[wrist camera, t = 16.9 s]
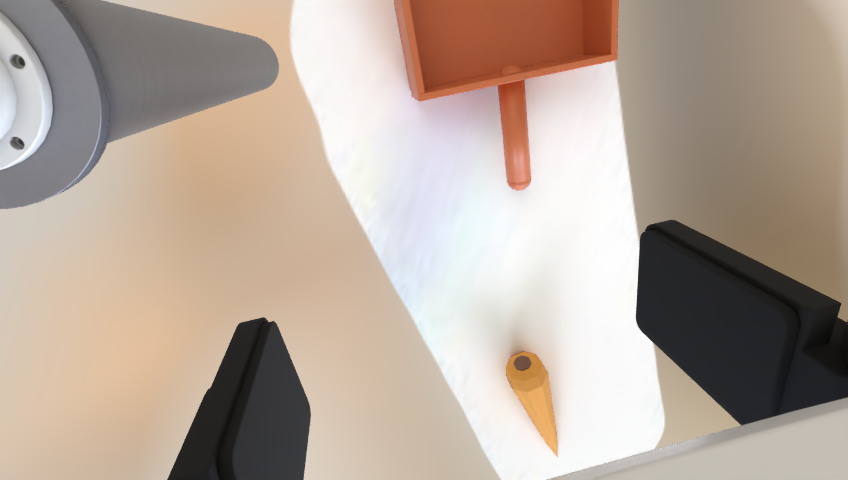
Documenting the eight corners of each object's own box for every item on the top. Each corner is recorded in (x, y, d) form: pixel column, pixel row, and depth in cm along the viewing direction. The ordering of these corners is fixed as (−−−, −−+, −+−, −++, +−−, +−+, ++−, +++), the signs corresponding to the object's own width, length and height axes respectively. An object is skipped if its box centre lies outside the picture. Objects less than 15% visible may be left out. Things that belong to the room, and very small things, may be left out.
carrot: (501, 347, 46) (500, 382, 42) (542, 343, 44) (545, 379, 41) (539, 440, 56) (541, 475, 53) (573, 440, 55) (577, 475, 51)
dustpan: (376, -95, 28) (380, -121, 24) (585, -132, 29) (622, -162, 25) (430, 200, 37) (439, 217, 33) (587, 164, 38) (615, 176, 34)
